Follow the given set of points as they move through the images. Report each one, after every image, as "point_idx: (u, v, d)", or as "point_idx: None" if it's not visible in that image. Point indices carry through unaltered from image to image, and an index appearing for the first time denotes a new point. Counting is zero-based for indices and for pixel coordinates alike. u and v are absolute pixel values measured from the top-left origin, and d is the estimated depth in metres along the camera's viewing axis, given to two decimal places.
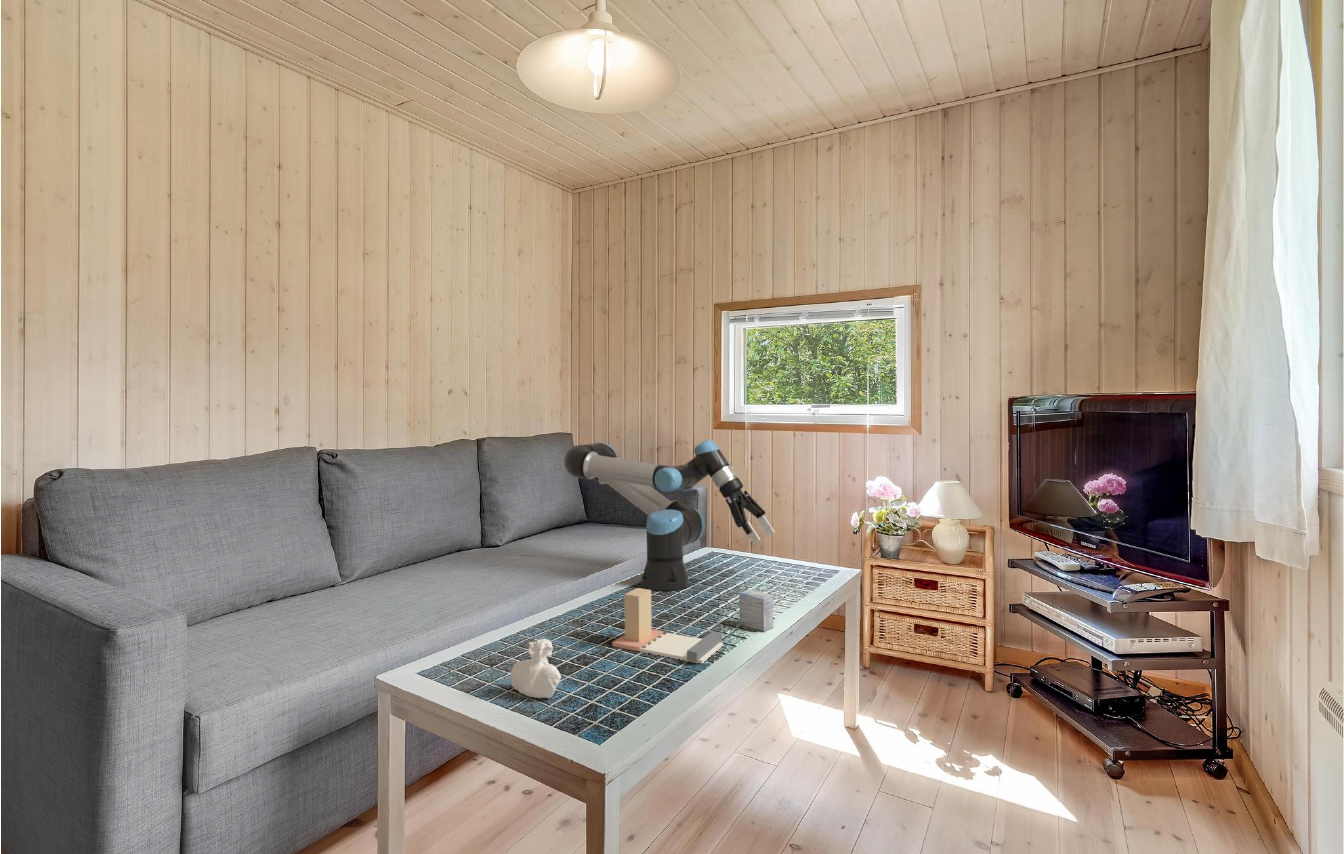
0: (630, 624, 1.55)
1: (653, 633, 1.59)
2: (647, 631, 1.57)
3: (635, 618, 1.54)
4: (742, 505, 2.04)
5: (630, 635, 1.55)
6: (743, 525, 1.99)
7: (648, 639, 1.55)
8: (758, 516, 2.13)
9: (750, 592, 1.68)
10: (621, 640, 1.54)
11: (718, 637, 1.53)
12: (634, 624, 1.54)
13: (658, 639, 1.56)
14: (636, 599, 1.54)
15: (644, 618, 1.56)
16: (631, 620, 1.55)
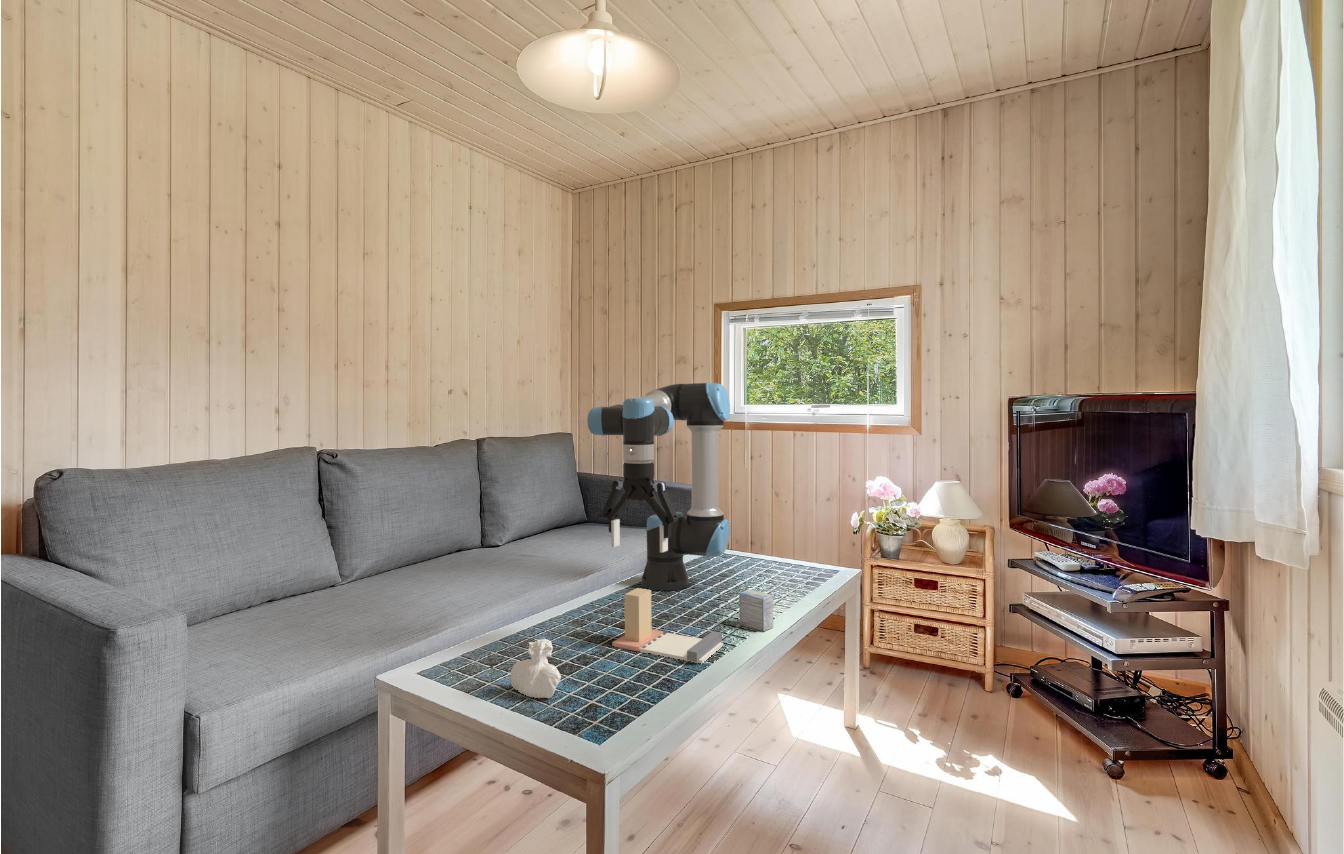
0: (630, 624, 1.55)
1: (653, 633, 1.59)
2: (647, 631, 1.57)
3: (635, 618, 1.54)
4: (623, 499, 1.57)
5: (630, 635, 1.55)
6: None
7: (648, 639, 1.55)
8: None
9: (750, 592, 1.68)
10: (621, 640, 1.54)
11: (718, 637, 1.53)
12: (634, 624, 1.54)
13: (658, 639, 1.56)
14: (636, 599, 1.54)
15: (644, 618, 1.56)
16: (631, 620, 1.55)
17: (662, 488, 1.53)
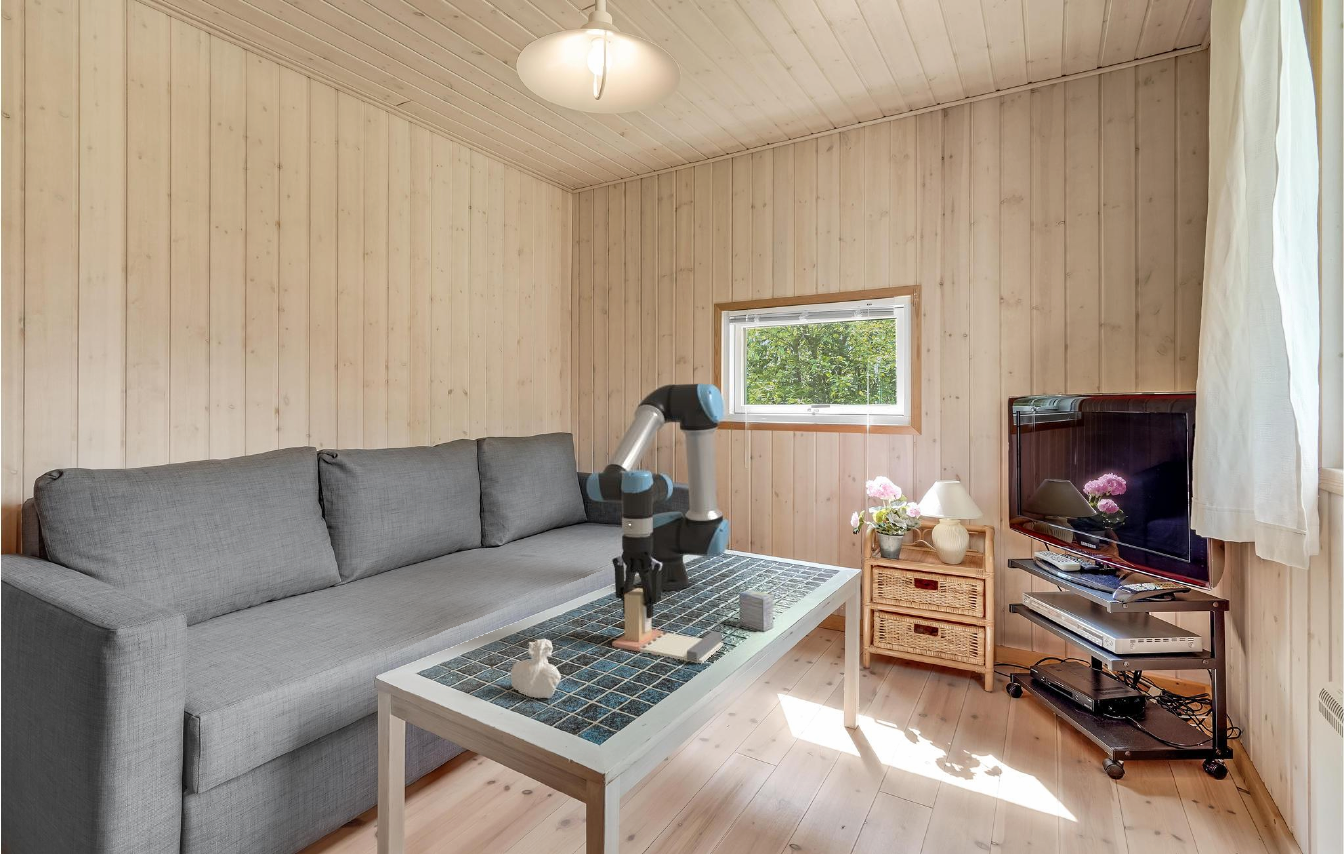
0: (630, 624, 1.55)
1: (653, 633, 1.59)
2: (647, 631, 1.57)
3: (635, 618, 1.54)
4: (627, 575, 1.57)
5: (630, 635, 1.55)
6: None
7: (648, 639, 1.55)
8: None
9: (750, 592, 1.68)
10: (621, 640, 1.54)
11: (718, 637, 1.53)
12: (634, 624, 1.54)
13: (658, 639, 1.56)
14: (636, 599, 1.54)
15: None
16: (631, 620, 1.55)
17: (658, 569, 1.53)
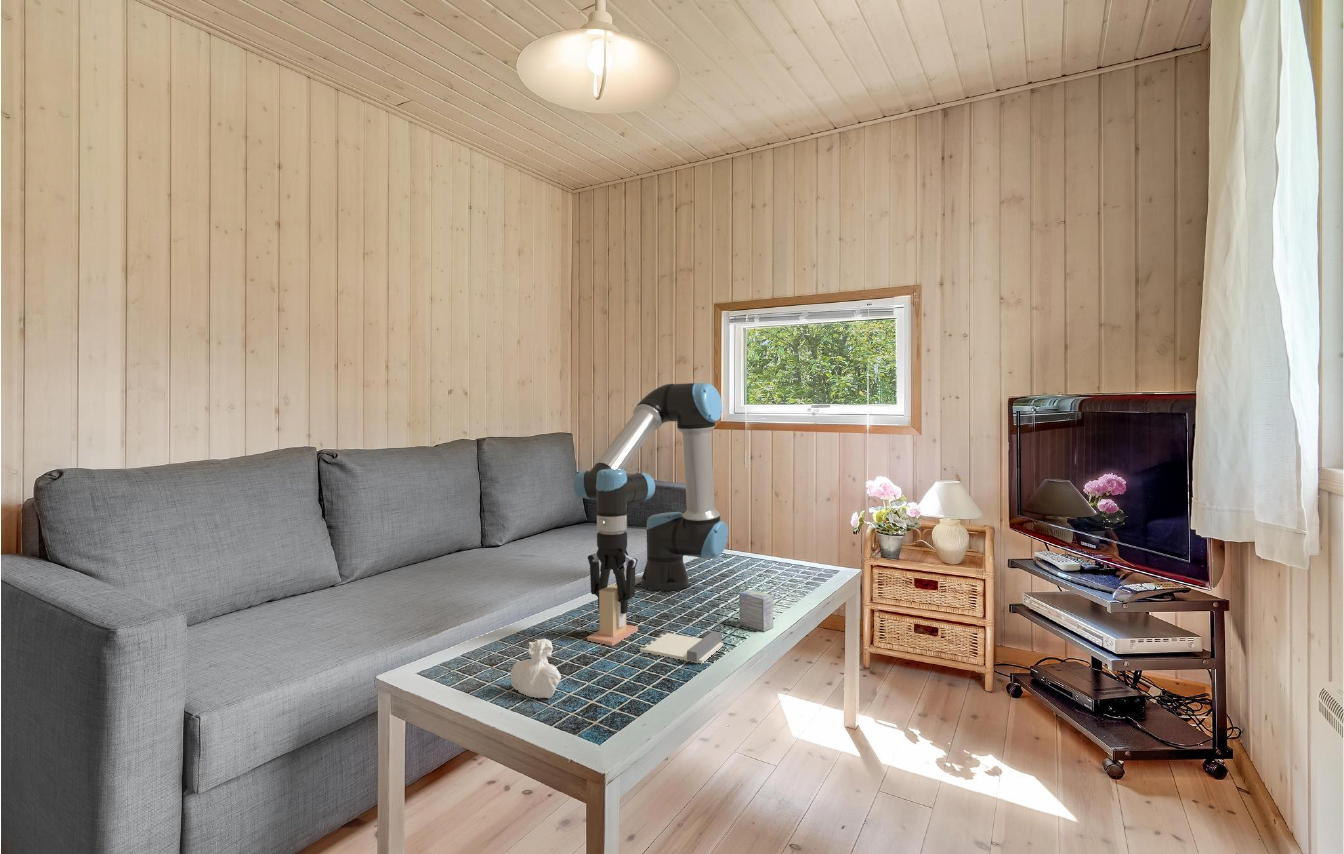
0: (605, 620, 1.58)
1: (628, 628, 1.63)
2: (622, 627, 1.61)
3: (609, 613, 1.58)
4: (602, 571, 1.60)
5: (605, 630, 1.58)
6: None
7: (622, 634, 1.59)
8: None
9: (750, 592, 1.68)
10: (595, 636, 1.58)
11: (718, 637, 1.53)
12: (608, 620, 1.58)
13: (658, 639, 1.56)
14: (611, 595, 1.57)
15: None
16: (605, 615, 1.58)
17: (632, 566, 1.57)
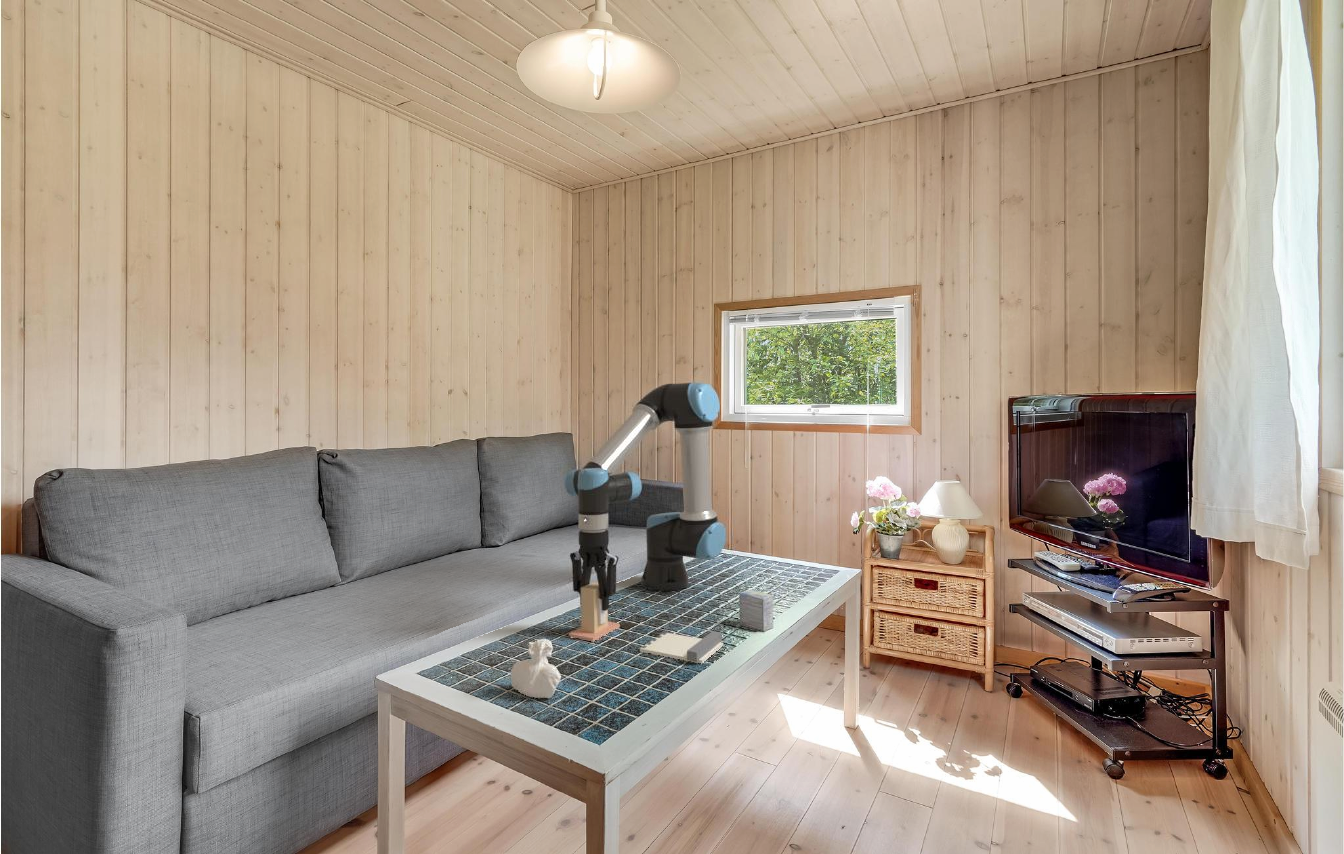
0: (586, 616, 1.61)
1: (609, 625, 1.66)
2: (603, 623, 1.63)
3: (591, 610, 1.60)
4: (584, 569, 1.63)
5: (586, 627, 1.61)
6: None
7: (603, 631, 1.61)
8: None
9: (750, 592, 1.68)
10: (577, 632, 1.61)
11: (718, 637, 1.53)
12: (590, 616, 1.60)
13: (658, 639, 1.56)
14: (592, 592, 1.60)
15: None
16: (587, 612, 1.61)
17: (613, 563, 1.59)
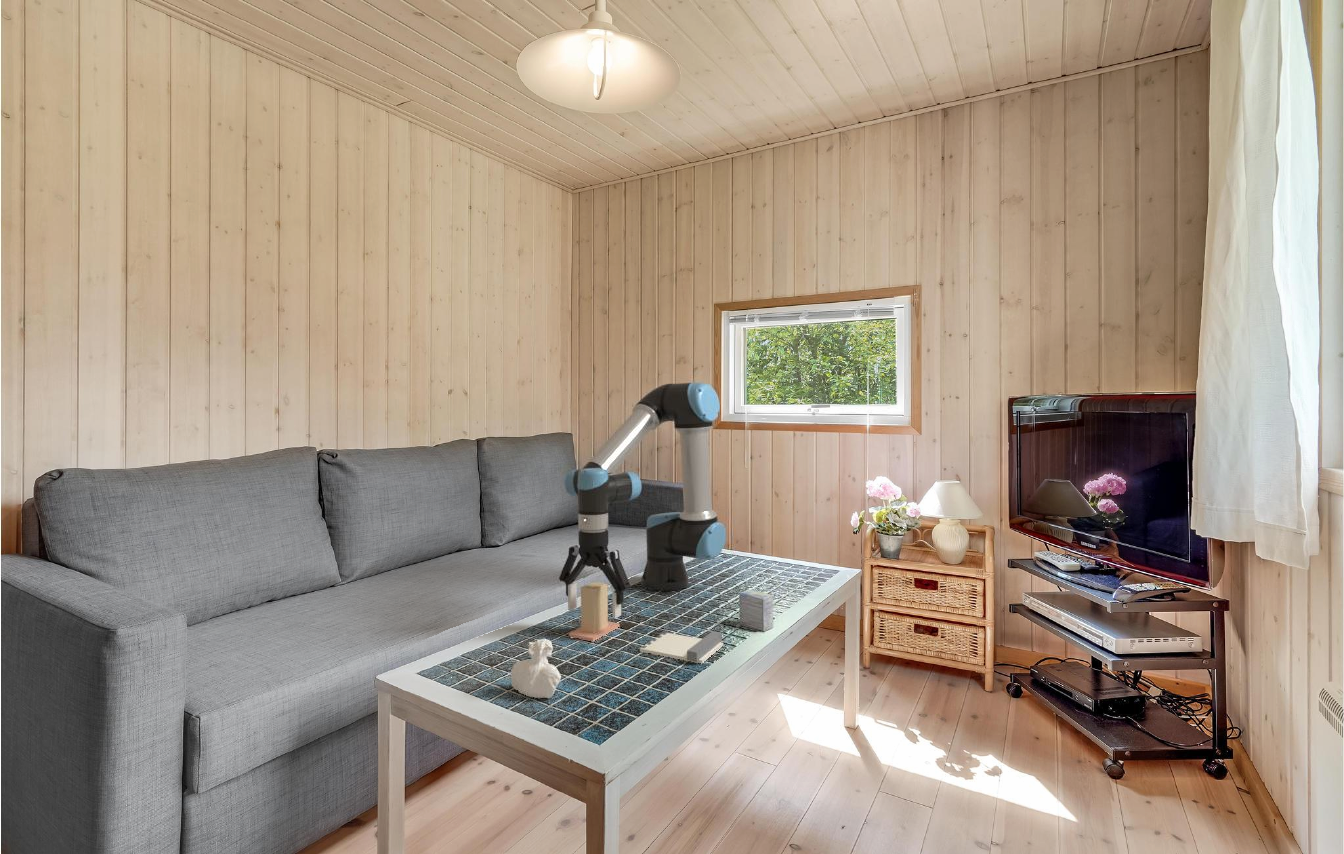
0: (586, 616, 1.61)
1: (609, 625, 1.66)
2: (603, 623, 1.63)
3: (590, 610, 1.60)
4: (578, 565, 1.63)
5: (586, 627, 1.61)
6: None
7: (603, 631, 1.61)
8: None
9: (750, 592, 1.68)
10: (577, 632, 1.61)
11: (718, 637, 1.53)
12: (590, 616, 1.60)
13: (658, 639, 1.56)
14: (592, 592, 1.60)
15: (600, 610, 1.62)
16: (587, 612, 1.61)
17: (615, 556, 1.59)
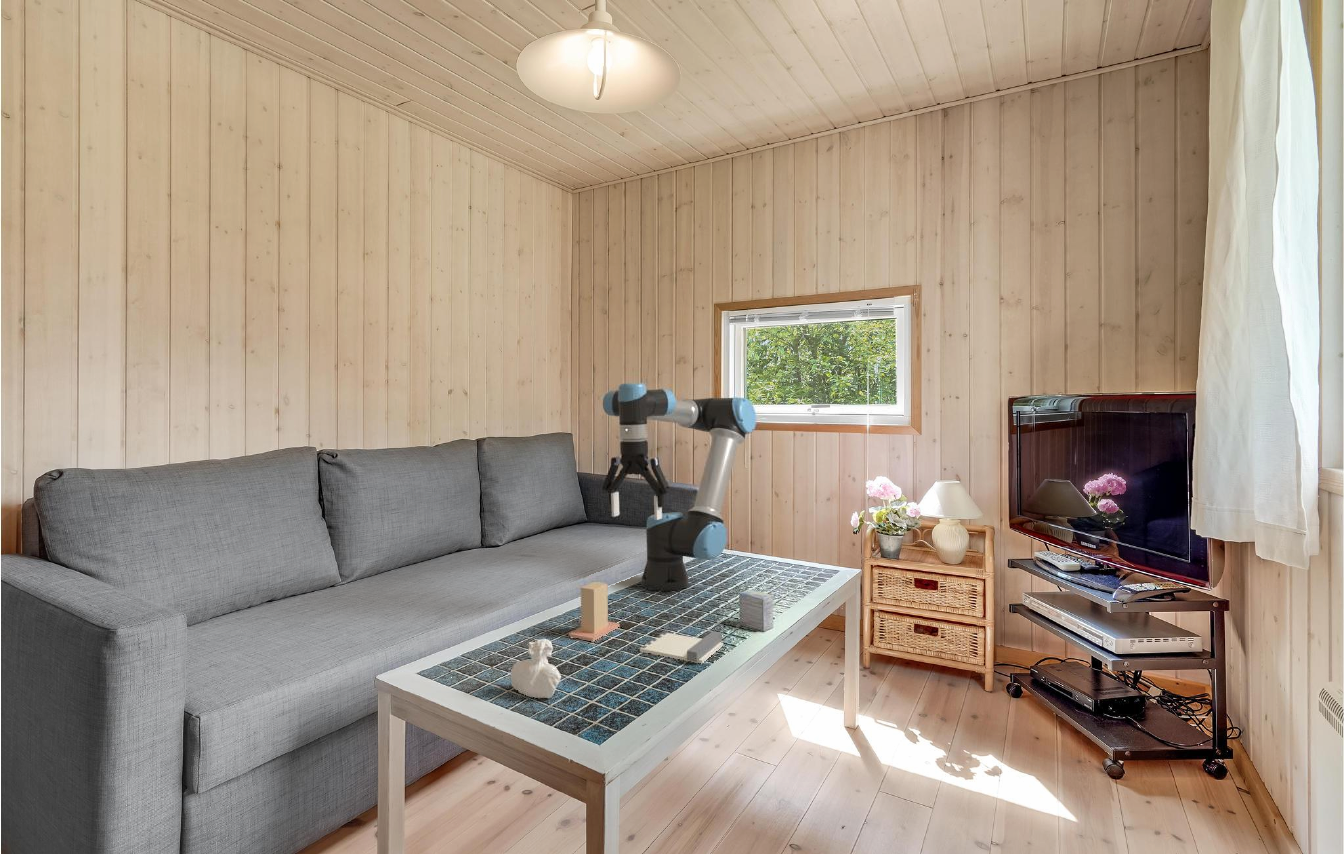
0: (586, 616, 1.61)
1: (609, 625, 1.66)
2: (603, 623, 1.63)
3: (590, 610, 1.60)
4: (620, 474, 1.75)
5: (586, 627, 1.61)
6: None
7: (603, 631, 1.61)
8: None
9: (750, 592, 1.68)
10: (577, 632, 1.61)
11: (718, 637, 1.53)
12: (590, 616, 1.60)
13: (658, 639, 1.56)
14: (592, 592, 1.60)
15: (600, 610, 1.62)
16: (587, 612, 1.61)
17: (655, 463, 1.71)
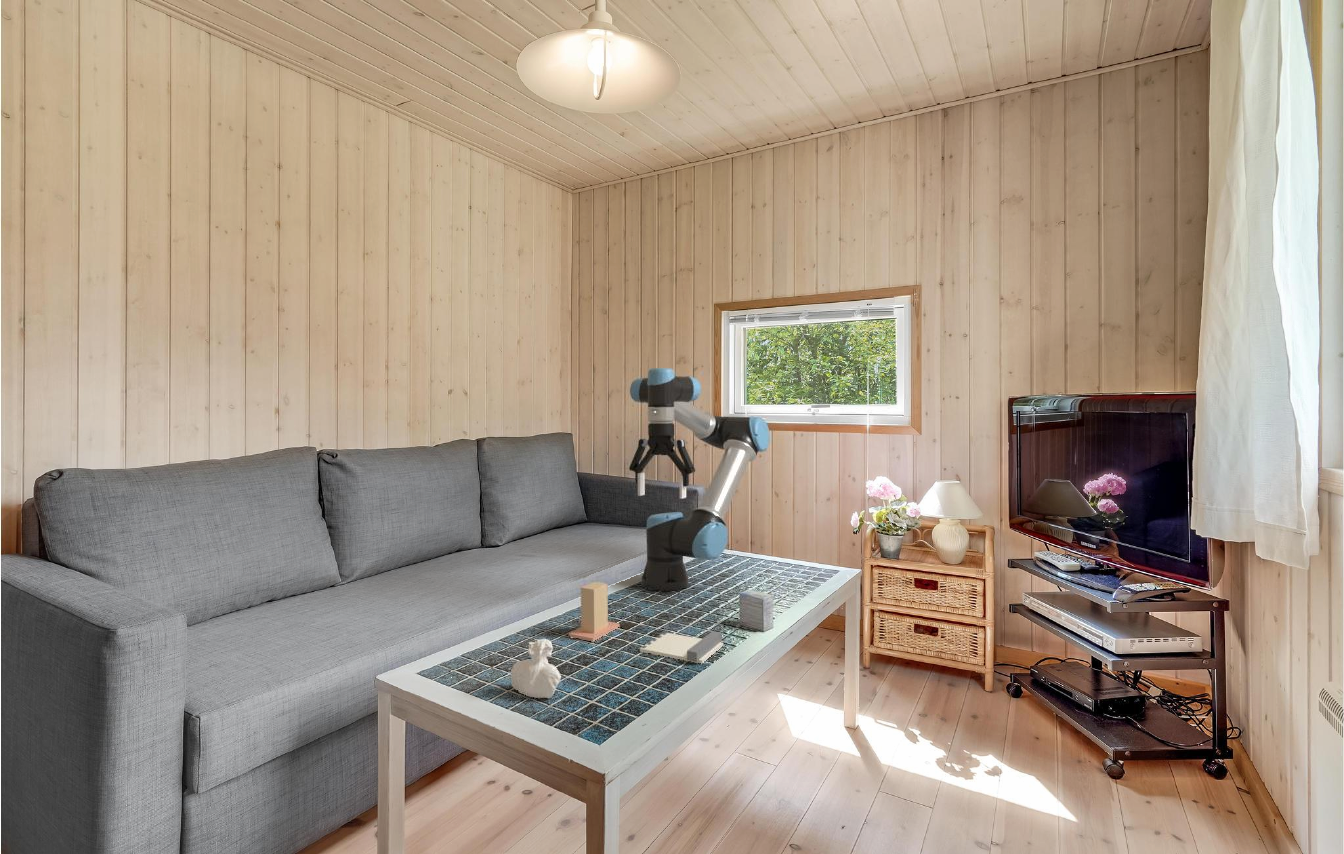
0: (586, 616, 1.61)
1: (609, 625, 1.66)
2: (603, 623, 1.63)
3: (590, 610, 1.60)
4: (647, 454, 1.84)
5: (586, 627, 1.61)
6: None
7: (603, 631, 1.61)
8: None
9: (750, 592, 1.68)
10: (577, 632, 1.61)
11: (718, 637, 1.53)
12: (590, 616, 1.60)
13: (658, 639, 1.56)
14: (592, 592, 1.60)
15: (600, 610, 1.62)
16: (587, 612, 1.61)
17: (681, 444, 1.80)
